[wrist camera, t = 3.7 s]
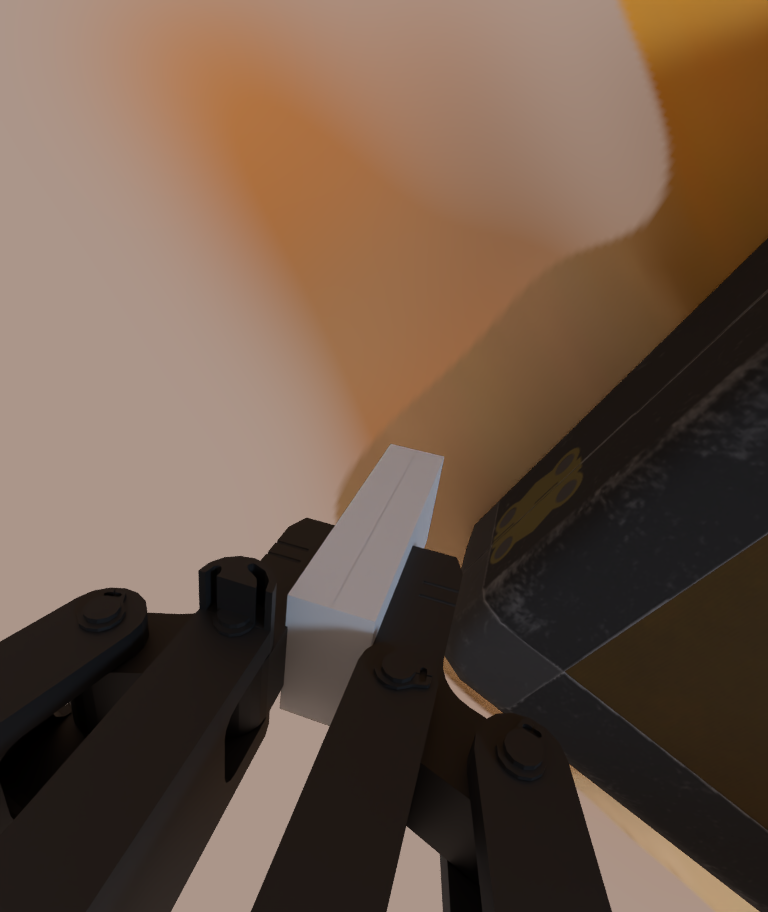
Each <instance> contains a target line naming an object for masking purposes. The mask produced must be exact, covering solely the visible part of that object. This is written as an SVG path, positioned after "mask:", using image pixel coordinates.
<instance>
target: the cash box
mask: <svg viewBox="0 0 768 912" xmlns="http://www.w3.org/2000/svg"><path fill="white" fill-rule="evenodd" d="M461 571H462V573H463V576H462V580H461V585H460V589H459V593H458V598H457V602H456V606H455V611H454V615H453V620H452V624H451V629H450V633H449V637H448V642H447V646H446V651H445V655H444V656H445V657H446V659H447V660H448V662H449V663H450V665H451V666H452V668H453V669H454V671H455V672H456V674H457V675H458V677H459V678H460V680H462V681H463V682H464V683H466V684H467V685H468V686H470V687H471V688H472V689H473V690H475V691H476V692H477V693H479V694H480V695H481V696H482V697H484V698H485V699H486V700H488V701H489V702H490V703H491V704H493V705H494V706H495V707H497V708H498V709H499V710H500V711H501V712H503V713H515V714H518V715H521V716H525V717H528V718H531V719H532V720H534V721H535V722H537V723H538V724H540V725H542V726H543V727H545V728H546V729H547V730H548V731H549V732H550V733H551V734H552V735H553V736H554V738H555V739H556V740H557V741H558V742H559V743H560V745H561V747H562V749H563V751H564V754H565V756H566V758H567V760H568V763H569V764H570V765H571V766H573V767H574V768H575V769H576V770H578V771H579V772H580V773H582V774H583V775H584V776H585V777H587V778H588V779H589V780H591V781H592V782H593V783H594V784H596V785H597V786H598V787H600V788H601V789H602V790H604V791H605V792H606V793H607V794H609V795H610V796H611V797H613V798H614V799H615V800H616V801H618V802H619V803H620V804H622V805H623V806H624V807H625V808H627V809H628V810H629V811H631V812H632V813H633V814H635V815H636V816H637V817H638V818H640V819H641V820H642V821H644V822H645V823H646V824H647V825H649V826H650V827H651V828H653V829H654V830H655V831H656V832H658V833H659V834H660V835H662V836H663V837H664V838H666V839H667V840H668V841H669V842H671V843H672V844H673V845H675V846H676V847H677V848H678V849H680V850H681V851H682V852H684V853H685V854H686V855H688V856H689V857H690V858H691V859H693V860H694V861H695V862H697V863H698V864H699V865H700V866H702V867H703V868H704V869H706V870H707V871H708V872H709V873H711V874H712V875H713V876H715V877H716V878H717V879H719V880H720V881H721V882H722V883H724V884H725V885H726V886H728V887H729V888H730V889H731V890H733V891H734V892H735V893H737V894H738V895H739V896H740V897H742V898H743V899H744V900H746V901H747V902H748V903H750V904H751V905H752V906H753V907H755V908H756V909H757V910H759V911H760V912H768V239H767V240H766V241H765V242H764V243H763V244H761V245H760V246H759V247H758V248H757V249H756V250H755V251H754V252H753V253H752V254H751V255H750V256H749V257H748V258H747V259H746V260H745V261H744V262H743V263H742V264H741V265H740V266H739V267H738V268H737V269H736V270H735V271H734V272H733V273H732V274H731V275H730V276H729V277H728V278H727V279H726V280H725V281H724V282H723V283H722V284H721V285H720V286H719V287H718V288H716V289H715V290H714V291H713V292H712V293H711V294H710V295H709V296H708V297H707V298H706V299H705V300H704V301H703V302H702V303H701V304H700V305H699V306H698V307H697V308H696V309H695V310H694V311H693V312H692V313H691V314H690V315H689V316H688V317H687V318H686V319H685V320H684V321H683V322H682V323H681V324H680V325H679V326H678V327H677V328H676V329H675V330H674V331H673V332H671V333H670V334H669V335H668V336H667V337H666V338H665V339H664V340H663V341H662V342H661V343H660V344H659V345H658V346H657V347H656V348H655V349H654V350H653V351H652V352H651V353H650V354H649V355H648V356H647V357H646V358H645V359H644V360H643V361H642V362H641V363H640V364H639V365H638V366H637V367H636V368H635V369H634V370H633V371H632V372H631V373H630V374H629V375H628V376H626V377H625V378H624V379H623V380H622V381H621V382H620V383H619V384H618V385H617V386H616V387H615V388H614V389H613V390H612V391H611V392H610V393H609V394H608V395H607V396H606V397H605V398H604V399H603V400H602V401H601V402H600V403H599V404H598V405H597V406H596V407H595V408H594V409H593V410H592V411H591V412H590V413H589V414H588V415H587V416H586V417H585V418H584V419H583V420H581V421H580V422H579V423H578V424H577V425H576V426H575V427H574V428H573V429H572V430H571V431H570V432H569V433H568V434H567V435H566V436H565V437H564V438H563V439H562V440H561V441H560V442H559V443H558V444H557V445H556V446H555V447H554V448H553V449H552V450H551V451H550V452H549V453H548V454H547V455H546V456H545V457H544V458H543V459H542V460H541V461H540V462H539V463H538V464H536V465H535V466H534V467H533V468H532V469H531V470H530V471H529V472H528V473H527V474H526V475H525V476H524V477H523V478H522V479H521V480H520V481H519V482H518V483H517V484H516V485H515V486H514V487H513V488H512V489H511V490H510V491H509V492H508V493H507V494H506V495H505V496H504V497H503V498H502V499H501V500H500V501H499V502H498V503H497V504H496V505H495V506H494V507H493V508H492V509H491V510H490V511H489V512H488V513H487V514H486V515H485V516H484V517H482V518H481V519H480V520H479V521H478V522H477V523H476V524H475V526H474V529H473V532H472V534H471V537H470V540H469V543H468V546H467V549H466V553H465V556H464V560H463V564H462V568H461Z"/></svg>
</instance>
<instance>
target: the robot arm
mask: <svg viewBox="0 0 768 912" xmlns="http://www.w3.org/2000/svg"><path fill="white" fill-rule="evenodd" d="M443 461H444V456H440V455H436V454H431V453H427V452H423V451H419V450H415V449H411V448H406V447H402V446H398V445H394V444H390V446H389V447H388V448H387V450H386V451H385V453H384V454H383V456H382V457H381V459H380V460H379V462H378V463H377V465H376V466H375V468H374V469H373V470H372V472H371V473H370V475H369V476H368V478H367V479H366V481H365V482H364V484H363V485H362V487H361V488H360V490H359V491H358V492H357V494H356V495H355V497H354V498H353V500H352V501H351V503H350V504H349V506H348V507H347V509H346V510H345V511H344V513H343V514H342V516H341V517H340V519H339V520H338V522H337V523H336V525H331V524H328V523H324V522H320V521H317V520H313V519H309V518H305V519H303V520H301V521H299V522H297V523H295V524H293V525H291V526H289V527H288V528H287V530H286V531H285V532H284V533H283V535H282V536H281V537H280V538H279V539H278V541H277V543H275V544H274V545H273V546H272V548H271V549H270V550H269V552H268V554H266V555H265V556H264V557H263V558H262V560H261V561H259V560H257V559H255V558H249V557H243V556H235V557H224V558H221V559H219V560H215V561H212V562H210V563H208V564H207V565H206V566H204V567H203V568H202V569H200V570H199V601H200V602H199V605H200V609H199V610H198V611H197V612H196V613H194V614H163V613H147V607H146V601H145V600H144V599H143V598H142V597H141V596H140V595H139V594H138V593H136V592H134V591H131V590H128V589H125V588H106V589H101V590H95V591H92V592H89V593H87V594H85V595H82V596H80V597H78V598H76V599H74V600H72V601H71V602H69V603H67V604H65V605H64V606H62V607H60V608H58V609H57V610H55V611H53V612H52V613H50V614H48V615H46V616H44V617H43V618H41V619H39V620H37V621H36V622H34V623H32V624H30V625H29V626H27V627H25V628H23V629H22V630H20V631H18V632H16V633H15V634H13V635H11V636H10V637H8V638H6V639H4V640H2V641H1V642H0V912H171V910H172V908H173V907H174V905H175V903H176V901H177V899H178V897H179V895H180V893H181V892H182V890H183V888H184V886H185V884H186V882H187V880H188V878H189V877H190V875H191V873H192V871H193V869H194V867H195V865H196V864H197V862H198V860H199V858H200V856H201V854H202V852H203V851H204V849H205V847H206V845H207V843H208V841H209V839H210V837H211V836H212V834H213V832H214V830H215V828H216V826H217V824H218V823H219V821H220V819H221V817H222V815H223V813H224V811H225V809H226V808H227V806H228V804H229V802H230V800H231V798H232V797H233V795H234V793H235V791H236V789H237V787H238V785H239V783H240V782H241V780H242V778H243V776H244V774H245V772H246V770H247V769H248V767H249V765H250V763H251V761H252V759H253V757H254V755H255V754H256V752H257V750H258V748H259V746H260V744H261V742H262V741H263V739H264V737H265V734H266V731H267V728H268V724H269V711H270V709H271V707H272V705H273V703H274V702H275V700H276V698H277V696H278V694H279V693H280V691H281V699H280V709H283V710H286V711H289V712H291V713H294V714H297V715H300V716H303V717H305V718H308V719H311V720H314V721H317V722H320V723H322V724H325V725H328V726H330V727H329V729H328V732H327V734H326V736H325V739H324V741H323V743H322V746H321V748H320V750H319V753H318V755H317V757H316V760H315V762H314V764H313V767H312V769H311V772H310V774H309V776H308V779H307V781H306V783H305V786H304V788H303V790H302V793H301V795H300V797H299V800H298V802H297V804H296V807H295V809H294V812H293V814H292V816H291V819H290V821H289V823H288V826H287V828H286V830H285V833H284V835H283V837H282V840H281V842H280V844H279V847H278V849H277V851H276V854H275V856H274V859H273V861H272V863H271V865H270V868H269V870H268V873H267V875H266V878H265V880H264V882H263V885H262V887H261V889H260V892H259V894H258V896H257V898H256V901H255V903H254V906H253V908H252V910H251V912H386V911H387V907H388V903H389V898H390V894H391V889H392V885H393V881H394V876H395V872H396V868H397V863H398V859H399V855H400V850H401V846H402V841H403V837H404V833H405V828H406V826H407V827H408V828H410V829H411V830H412V831H413V832H414V833H415V834H417V835H418V836H419V837H420V838H422V839H423V840H424V841H425V842H426V843H428V844H429V845H430V846H431V847H432V848H434V849H435V850H436V851H437V852H438V853H439V854H440V864H441V883H442V902H443V912H612V911H611V908H610V904H609V900H608V897H607V894H606V890H605V886H604V883H603V880H602V876H601V873H600V869H599V866H598V863H597V859H596V856H595V852H594V849H593V845H592V842H591V838H590V835H589V832H588V828H587V825H586V821H585V818H584V814H583V811H582V807H581V804H580V801H579V797H578V794H577V790H576V787H575V783H574V780H573V777H572V773H571V770H570V766H569V763H568V760H567V758H566V756H565V754H564V751H563V749H562V747H561V745H560V743H559V742H558V741H557V740H556V739H555V738H554V736H553V735H552V734H551V733H550V732H549V731H548V730H547V729H546V728H545V727H543V726H542V725H540V724H538V723H537V722H535V721H534V720H532V719H531V718H528V717H525V716H521V715H518V714H515V713H501V714H495V715H493V716H491V717H489V718H488V719H486V718H485V717H483V716H482V715H480V714H479V713H477V712H476V711H474V710H473V709H471V708H469V706H467V705H466V704H465V703H464V702H462V701H461V700H460V699H459V698H458V697H457V696H456V695H455V694H454V693H453V691H452V690H451V688H450V687H449V685H448V683H447V681H446V679H445V675H444V671H443V660H444V655H445V651H446V646H447V642H448V637H449V633H450V629H451V624H452V620H453V615H454V611H455V606H456V602H457V598H458V593H459V589H460V585H461V580H462V576H463V573H462V571H461V568H460V565H459V562H458V560H457V558H456V557H453V556H449V555H446V554H442V553H438V552H435V551H431V550H428V549H424V547H425V544H426V542H427V538H428V533H429V528H430V523H431V519H432V514H433V509H434V504H435V499H436V495H437V490H438V485H439V480H440V475H441V470H442V466H443ZM67 703H68V704H67ZM66 704H67V705H66Z"/></svg>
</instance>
